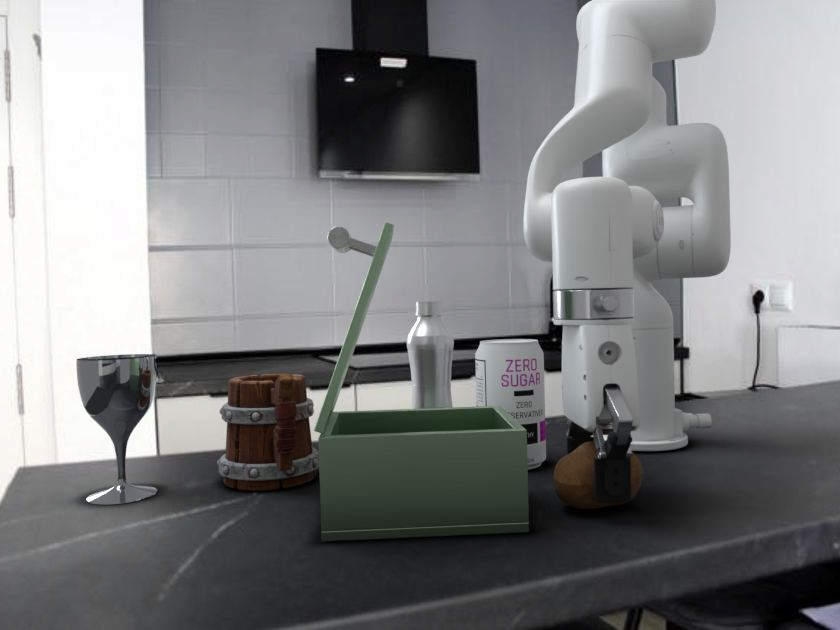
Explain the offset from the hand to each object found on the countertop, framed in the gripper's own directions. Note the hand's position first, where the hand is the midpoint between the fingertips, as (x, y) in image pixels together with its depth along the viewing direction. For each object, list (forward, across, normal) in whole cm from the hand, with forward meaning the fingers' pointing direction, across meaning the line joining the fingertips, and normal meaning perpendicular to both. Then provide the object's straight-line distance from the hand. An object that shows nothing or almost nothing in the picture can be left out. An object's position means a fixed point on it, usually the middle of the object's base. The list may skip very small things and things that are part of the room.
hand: (596, 487), depth 68 cm
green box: (+2, 0, +17) cm, 17 cm away
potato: (+2, 0, 0) cm, 2 cm away
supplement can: (+2, +18, +5) cm, 19 cm away
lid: (-16, 0, +22) cm, 27 cm away
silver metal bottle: (+2, +27, +14) cm, 31 cm away
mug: (+2, +14, +33) cm, 36 cm away
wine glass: (+2, +11, +49) cm, 50 cm away
